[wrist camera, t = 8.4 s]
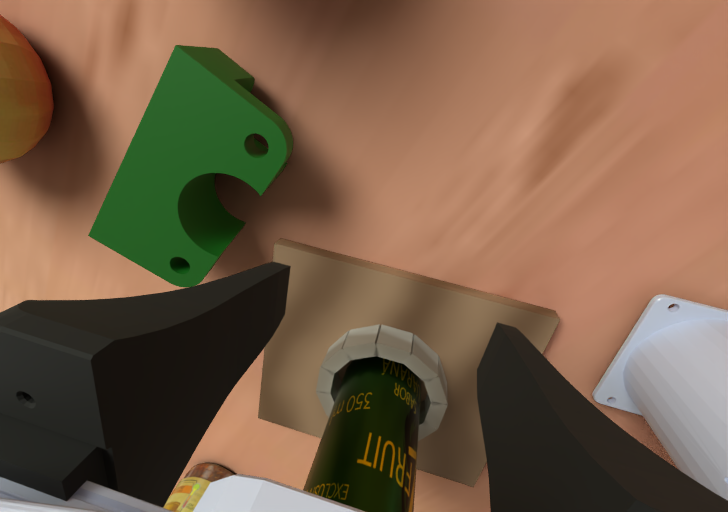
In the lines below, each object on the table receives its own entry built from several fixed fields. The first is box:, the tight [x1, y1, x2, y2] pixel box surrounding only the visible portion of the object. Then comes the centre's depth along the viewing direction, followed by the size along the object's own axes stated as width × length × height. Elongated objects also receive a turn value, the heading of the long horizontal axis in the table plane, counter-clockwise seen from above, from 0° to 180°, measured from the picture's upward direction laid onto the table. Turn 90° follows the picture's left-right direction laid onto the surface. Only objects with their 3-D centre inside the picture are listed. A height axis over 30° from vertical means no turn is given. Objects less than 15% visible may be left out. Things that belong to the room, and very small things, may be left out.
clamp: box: [88, 45, 293, 287], centre depth 19 cm, size 12×6×9 cm, turn 136°
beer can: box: [303, 356, 421, 512], centre depth 20 cm, size 5×5×12 cm
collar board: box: [258, 238, 560, 487], centre depth 24 cm, size 18×16×3 cm
